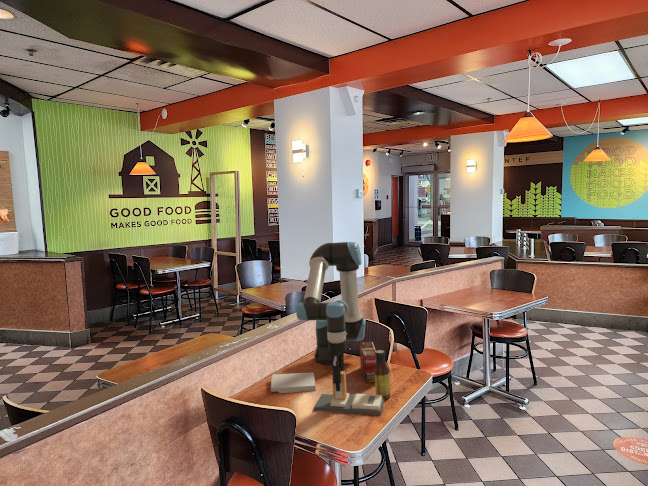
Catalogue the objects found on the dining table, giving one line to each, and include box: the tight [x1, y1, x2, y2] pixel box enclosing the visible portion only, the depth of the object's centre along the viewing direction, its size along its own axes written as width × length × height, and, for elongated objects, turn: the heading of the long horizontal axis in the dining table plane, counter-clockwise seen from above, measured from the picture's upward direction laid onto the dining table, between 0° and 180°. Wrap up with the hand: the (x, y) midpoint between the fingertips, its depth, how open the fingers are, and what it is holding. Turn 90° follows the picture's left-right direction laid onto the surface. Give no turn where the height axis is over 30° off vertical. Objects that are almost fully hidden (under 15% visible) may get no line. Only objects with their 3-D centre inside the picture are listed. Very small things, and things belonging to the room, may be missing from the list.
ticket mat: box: [313, 393, 385, 416], centre depth 177 cm, size 12×27×3 cm, turn 76°
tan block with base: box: [330, 370, 351, 407], centre depth 178 cm, size 10×6×12 cm, turn 166°
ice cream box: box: [359, 341, 377, 385], centre depth 207 cm, size 20×6×13 cm, turn 1°
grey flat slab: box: [270, 372, 316, 394], centre depth 201 cm, size 15×3×20 cm
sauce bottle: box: [374, 349, 392, 400], centre depth 183 cm, size 6×6×20 cm
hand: (339, 395), depth 178 cm, fingers closed on tan block with base, 3 cm apart
